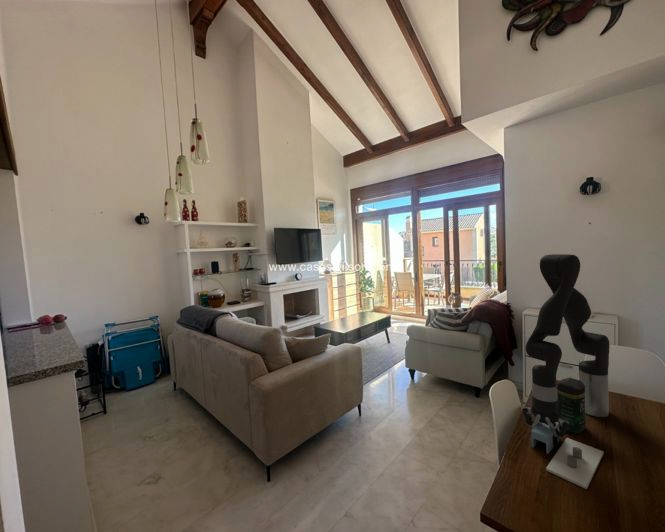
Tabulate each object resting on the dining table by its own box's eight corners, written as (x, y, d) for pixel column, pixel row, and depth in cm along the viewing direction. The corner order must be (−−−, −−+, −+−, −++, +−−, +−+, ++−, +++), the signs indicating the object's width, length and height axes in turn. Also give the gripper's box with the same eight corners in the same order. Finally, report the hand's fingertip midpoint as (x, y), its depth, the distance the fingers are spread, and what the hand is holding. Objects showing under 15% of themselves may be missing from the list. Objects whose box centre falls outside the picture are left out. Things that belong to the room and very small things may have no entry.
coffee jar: (578, 437, 109) (577, 388, 108) (553, 426, 115) (552, 380, 114) (589, 427, 113) (588, 380, 112) (564, 418, 120) (563, 373, 119)
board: (566, 439, 107) (566, 431, 107) (603, 453, 100) (603, 444, 99) (546, 470, 94) (545, 460, 94) (586, 489, 86) (586, 478, 86)
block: (543, 432, 112) (543, 417, 112) (559, 438, 108) (559, 422, 108) (531, 446, 105) (531, 430, 105) (548, 454, 101) (547, 437, 101)
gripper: (572, 399, 102) (573, 446, 103) (525, 385, 114) (527, 428, 115) (565, 407, 98) (567, 456, 99) (518, 392, 109) (519, 436, 110)
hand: (545, 441), depth 107 cm, fingers closed on block, 5 cm apart
